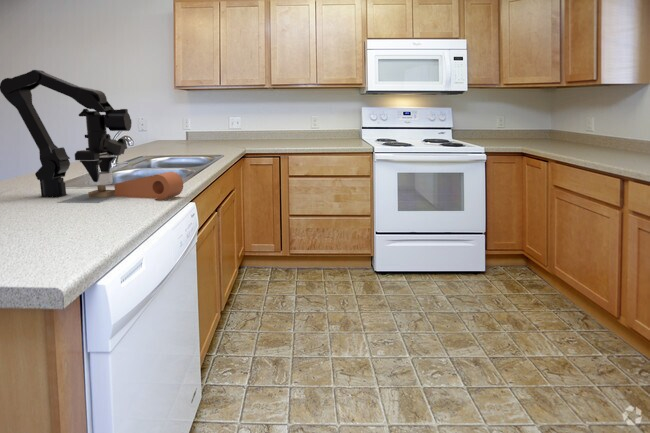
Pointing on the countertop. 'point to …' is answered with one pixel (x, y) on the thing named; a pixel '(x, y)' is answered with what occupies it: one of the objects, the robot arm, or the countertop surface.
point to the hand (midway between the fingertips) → (100, 180)
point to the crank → (151, 186)
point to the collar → (102, 178)
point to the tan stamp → (101, 192)
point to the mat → (86, 199)
